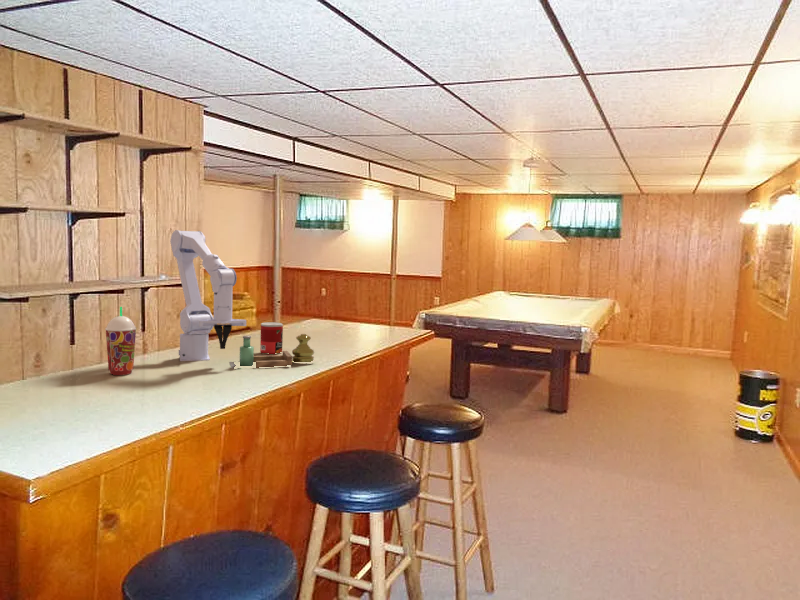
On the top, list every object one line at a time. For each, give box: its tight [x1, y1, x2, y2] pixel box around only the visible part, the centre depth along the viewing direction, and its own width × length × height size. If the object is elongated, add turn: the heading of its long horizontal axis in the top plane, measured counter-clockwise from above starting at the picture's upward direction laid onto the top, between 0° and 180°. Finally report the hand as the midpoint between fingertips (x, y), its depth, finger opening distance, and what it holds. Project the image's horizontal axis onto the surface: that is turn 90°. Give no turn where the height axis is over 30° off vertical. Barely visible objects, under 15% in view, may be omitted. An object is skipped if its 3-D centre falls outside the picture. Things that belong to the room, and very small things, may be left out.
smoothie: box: [104, 306, 137, 376], centre depth 179 cm, size 8×8×20 cm
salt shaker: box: [291, 333, 315, 362], centre depth 205 cm, size 7×7×10 cm
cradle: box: [228, 350, 293, 370], centre depth 199 cm, size 19×12×4 cm, turn 110°
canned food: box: [259, 321, 284, 355], centre depth 220 cm, size 8×8×11 cm
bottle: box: [239, 335, 255, 366], centre depth 197 cm, size 4×4×10 cm
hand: (222, 348), depth 194 cm, fingers closed
